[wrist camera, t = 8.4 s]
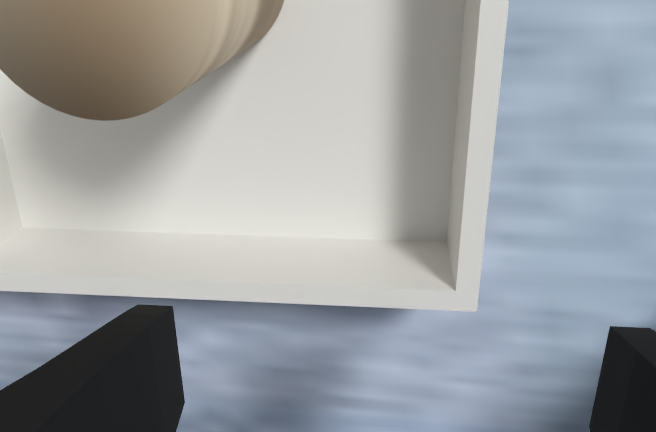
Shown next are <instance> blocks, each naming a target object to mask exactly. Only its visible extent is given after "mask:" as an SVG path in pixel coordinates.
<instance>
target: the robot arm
mask: <svg viewBox="0 0 656 432" xmlns="http://www.w3.org/2000/svg"><path fill="white" fill-rule="evenodd" d="M184 403H185V401H184V393H183V385H182V377H181V369H180V361H179V353H178V345H177V337H176V329H175V321H174V313H173V306H156V305H137V306H135V307H133V308H131V309H129V310H128V311H126V312H124V313H123V314H121V315H120V316H118V317H116V318H115V319H113V320H112V321H110V322H108V323H107V324H105V325H104V326H102V327H101V328H99V329H98V330H96V331H95V332H93V333H92V334H90V335H89V336H87V337H86V338H84V339H82V340H81V341H79V342H78V343H76V344H75V345H73V346H72V347H70V348H69V349H67V350H65V351H64V352H62V353H61V354H59V355H58V356H56V357H55V358H53V359H51V360H50V361H48V362H47V363H45V364H44V365H42V366H41V367H39V368H37V369H36V370H34V371H32V372H31V373H29V374H27V375H26V376H24V377H22V378H21V379H19V380H17V381H15V382H14V383H12V384H10V385H9V386H7V387H5V388H4V389H2V390H0V432H176V429H177V426H178V423H179V419H180V416H181V413H182V410H183V406H184ZM589 428H590V432H656V332H655V331H654V330H652V329H650V328H634V327H613V326H610V329H609V334H608V339H607V343H606V348H605V353H604V358H603V363H602V368H601V372H600V377H599V382H598V387H597V392H596V397H595V401H594V406H593V411H592V416H591V421H590V426H589Z"/></svg>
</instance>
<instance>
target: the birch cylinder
mask: <svg viewBox="0 0 656 432" xmlns="http://www.w3.org/2000/svg"><path fill="white" fill-rule="evenodd" d="M283 3H284V0H0V69H1V71H2V72H3V73H4V74H5V75H6V76H7V77H8V78H9V79H10V80H11V81H12V82H13V83H15V84H16V85H17V86H18V87H20V88H21V89H22V90H23V91H25V92H26V93H27V94H29V95H30V96H32V97H33V98H35V99H36V100H38V101H40V102H41V103H43V104H45V105H47V106H49V107H51V108H53V109H55V110H57V111H60V112H63V113H66V114H68V115H71V116H75V117H80V118H84V119H90V120H100V121H109V120H122V119H127V118H133V117H136V116H139V115H142V114H145V113H147V112H149V111H151V110H153V109H155V108H157V107H159V106H161V105H163V104H164V103H166V102H167V101H169V100H170V99H172V98H173V97H175V96H176V95H178V94H179V93H181V92H182V91H184V90H185V89H187V88H188V87H190V86H191V85H193V84H194V83H196V82H197V81H199V80H201V79H202V78H204V77H205V76H207V75H208V74H210V73H211V72H213V71H214V70H216V69H217V68H219V67H220V66H222V65H223V64H225V63H226V62H228V61H229V60H231V59H232V58H234V57H235V56H237V55H238V54H240V53H242V52H243V51H245V50H246V49H248V48H249V47H251V46H252V45H253V44H255V43H256V42H258V41H259V40H260V39H261V38H262V37H263V36H264V35H265V34H266V33H267V32H268V31H269V30H270V28H271V27H272V26H273V24H274V23H275V21H276V19H277V18H278V16H279V13H280V11H281V9H282V6H283Z"/></svg>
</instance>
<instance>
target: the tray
mask: <svg viewBox="0 0 656 432" xmlns="http://www.w3.org/2000/svg"><path fill="white" fill-rule="evenodd" d="M508 5H509V0H284V3H283V6H282V9H281V11H280V13H279V16H278V18H277V19H276V21H275V23H274V24H273V26H272V27H271V28H270V30H269V31H268V32H267V33H266V34H265V35H264V36H263V37H262V38H261V39H260V40H259V41H258V42H256V43H255V44H253V45H252V46H251V47H249V48H248V49H246V50H245V51H243V52H242V53H240V54H238V55H237V56H235V57H234V58H232V59H231V60H229V61H228V62H226V63H225V64H223V65H222V66H220V67H219V68H217V69H216V70H214V71H213V72H211V73H210V74H208V75H207V76H205V77H204V78H202V79H201V80H199V81H197V82H196V83H194V84H193V85H191V86H190V87H188V88H187V89H185V90H184V91H182V92H181V93H179V94H178V95H176V96H175V97H173V98H172V99H170V100H169V101H167V102H166V103H164V104H163V105H161V106H159V107H157V108H155V109H153V110H151V111H149V112H147V113H145V114H142V115H139V116H136V117H133V118H127V119H122V120H109V121H100V120H90V119H84V118H80V117H75V116H71V115H68V114H66V113H63V112H60V111H57V110H55V109H53V108H51V107H49V106H47V105H45V104H43V103H41V102H40V101H38V100H36V99H35V98H33V97H32V96H30V95H29V94H27V93H26V92H25V91H23V90H22V89H21V88H20V87H18V86H17V85H16V84H15V83H13V82H12V81H11V80H10V79H9V78H8V77H7V76H6V75H5V74H4V73H3V72H2V71H1V69H0V291H16V292H39V293H62V294H85V295H107V296H130V297H153V298H175V299H198V300H221V301H244V302H266V303H289V304H312V305H334V306H357V307H380V308H403V309H425V310H448V311H471V312H477V305H478V296H479V286H480V276H481V266H482V257H483V247H484V237H485V228H486V218H487V208H488V199H489V189H490V179H491V169H492V160H493V150H494V140H495V131H496V121H497V111H498V102H499V92H500V82H501V73H502V63H503V53H504V43H505V34H506V24H507V14H508Z"/></svg>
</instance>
